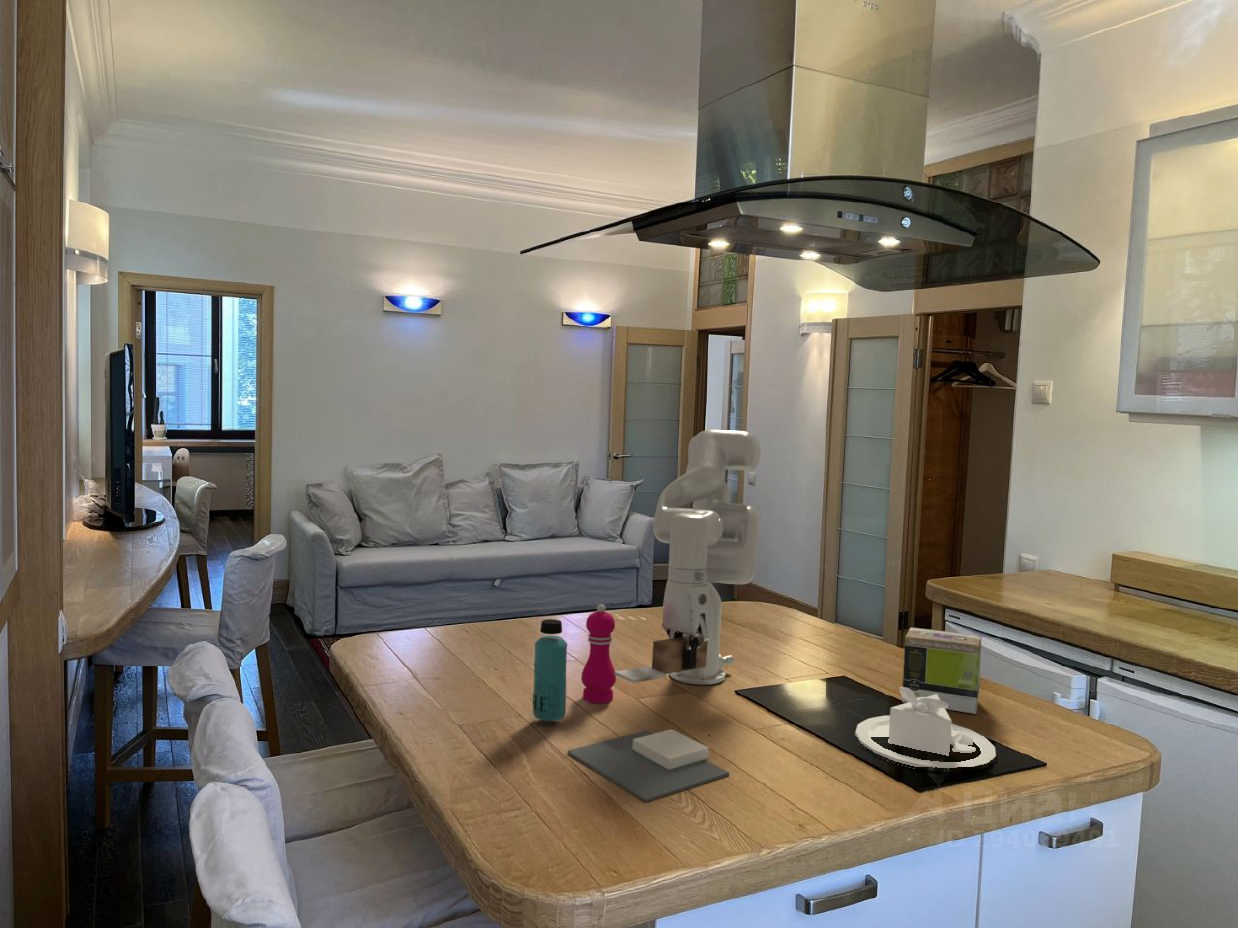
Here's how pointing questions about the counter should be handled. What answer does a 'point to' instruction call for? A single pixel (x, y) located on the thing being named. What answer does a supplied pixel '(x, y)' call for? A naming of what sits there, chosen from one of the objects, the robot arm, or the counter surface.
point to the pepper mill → (599, 658)
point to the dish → (923, 733)
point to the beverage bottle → (550, 673)
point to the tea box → (943, 667)
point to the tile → (670, 749)
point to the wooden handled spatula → (665, 661)
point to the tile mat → (643, 768)
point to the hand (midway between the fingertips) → (683, 665)
